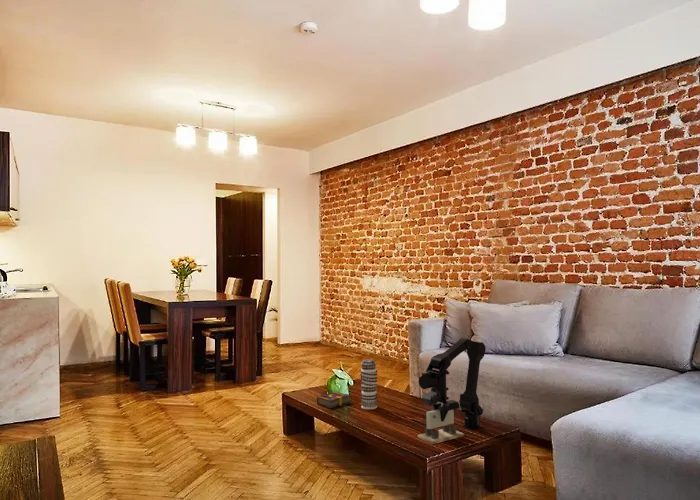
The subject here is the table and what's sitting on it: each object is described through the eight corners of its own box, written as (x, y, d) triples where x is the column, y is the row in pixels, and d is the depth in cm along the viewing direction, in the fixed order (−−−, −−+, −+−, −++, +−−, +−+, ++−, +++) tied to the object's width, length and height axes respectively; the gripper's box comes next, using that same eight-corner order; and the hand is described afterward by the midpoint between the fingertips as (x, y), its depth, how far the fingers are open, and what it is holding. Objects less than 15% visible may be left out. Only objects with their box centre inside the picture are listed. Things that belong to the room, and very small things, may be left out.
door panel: (450, 422, 227) (450, 406, 227) (455, 423, 225) (455, 408, 225) (426, 428, 220) (426, 411, 220) (431, 429, 217) (430, 413, 218)
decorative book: (316, 404, 276) (316, 395, 276) (338, 398, 287) (337, 390, 287) (330, 409, 267) (330, 399, 267) (352, 402, 279) (351, 393, 279)
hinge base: (448, 429, 232) (448, 420, 232) (463, 436, 223) (463, 426, 223) (417, 437, 222) (417, 428, 222) (432, 444, 214) (432, 434, 214)
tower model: (378, 409, 264) (377, 361, 265) (360, 409, 264) (359, 361, 265) (377, 404, 273) (376, 358, 274) (360, 404, 274) (359, 358, 274)
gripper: (412, 383, 227) (413, 418, 227) (439, 392, 211) (440, 430, 211) (431, 380, 233) (432, 414, 232) (459, 388, 217) (460, 425, 216)
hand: (440, 420), depth 223 cm, fingers closed on door panel, 2 cm apart
